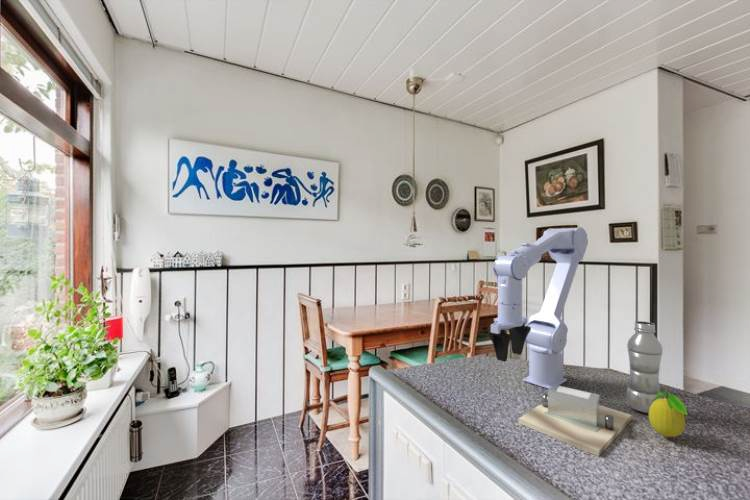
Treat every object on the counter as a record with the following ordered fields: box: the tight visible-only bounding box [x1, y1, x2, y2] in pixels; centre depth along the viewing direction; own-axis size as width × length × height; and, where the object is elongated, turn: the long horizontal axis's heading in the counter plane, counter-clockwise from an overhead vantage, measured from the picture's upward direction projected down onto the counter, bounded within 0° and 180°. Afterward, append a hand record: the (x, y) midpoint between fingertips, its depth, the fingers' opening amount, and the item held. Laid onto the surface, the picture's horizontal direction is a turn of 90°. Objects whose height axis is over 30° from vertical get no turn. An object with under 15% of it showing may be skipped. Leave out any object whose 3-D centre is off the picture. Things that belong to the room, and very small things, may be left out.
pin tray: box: [518, 393, 633, 457], centre depth 74 cm, size 20×15×4 cm
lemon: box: [648, 386, 689, 438], centre depth 68 cm, size 7×6×10 cm
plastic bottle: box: [625, 320, 663, 414], centre depth 79 cm, size 6×7×20 cm
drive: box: [547, 384, 600, 427], centre depth 75 cm, size 4×9×5 cm, turn 51°
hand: (509, 357), depth 88 cm, fingers open, 7 cm apart
